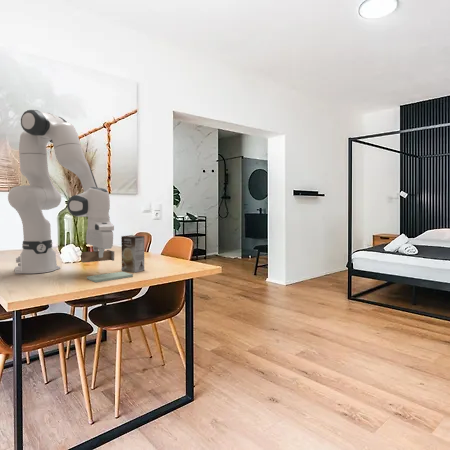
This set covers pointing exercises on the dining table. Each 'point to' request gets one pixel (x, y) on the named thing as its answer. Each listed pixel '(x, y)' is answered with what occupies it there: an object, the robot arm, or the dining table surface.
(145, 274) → the dining table surface
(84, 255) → the brown wooden block
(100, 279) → the mat
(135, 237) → the coffee box
